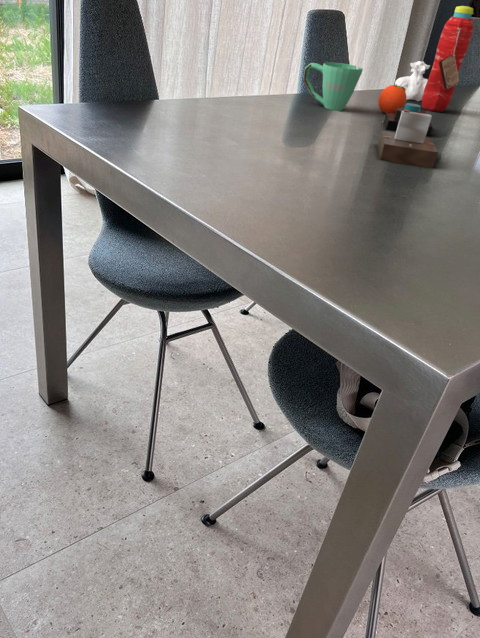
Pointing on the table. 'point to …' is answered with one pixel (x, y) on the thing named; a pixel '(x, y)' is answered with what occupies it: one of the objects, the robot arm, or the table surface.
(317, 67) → the mug
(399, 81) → the bust
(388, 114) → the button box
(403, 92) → the clementine
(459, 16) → the red bag
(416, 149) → the block
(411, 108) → the button
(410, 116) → the silver flat panel
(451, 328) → the table surface
